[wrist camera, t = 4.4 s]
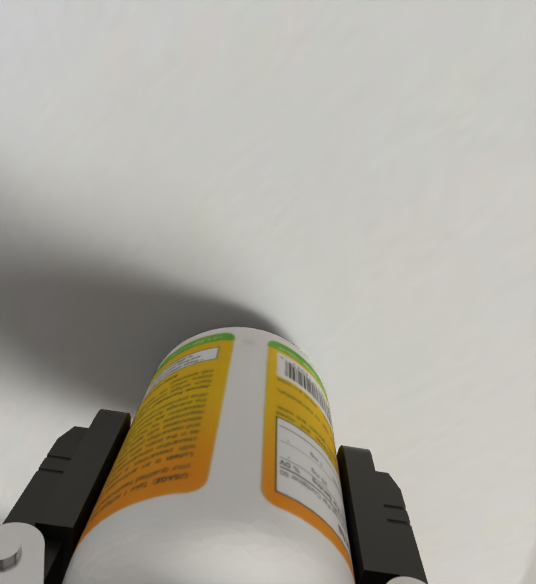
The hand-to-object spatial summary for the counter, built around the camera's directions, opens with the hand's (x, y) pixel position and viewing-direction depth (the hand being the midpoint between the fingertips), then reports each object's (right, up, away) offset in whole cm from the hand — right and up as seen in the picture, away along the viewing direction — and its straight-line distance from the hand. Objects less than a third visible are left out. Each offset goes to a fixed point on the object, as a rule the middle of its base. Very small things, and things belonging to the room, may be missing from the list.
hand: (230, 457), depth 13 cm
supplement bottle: (0, +1, +3) cm, 3 cm away
